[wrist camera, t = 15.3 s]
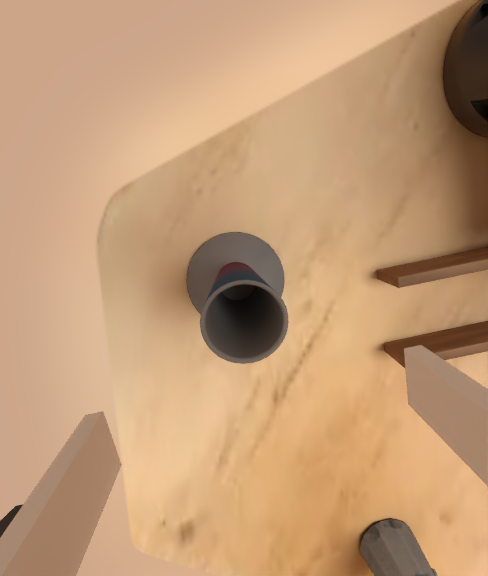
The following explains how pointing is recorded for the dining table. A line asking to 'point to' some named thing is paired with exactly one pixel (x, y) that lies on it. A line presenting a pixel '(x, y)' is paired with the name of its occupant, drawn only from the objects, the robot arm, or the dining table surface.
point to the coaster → (228, 251)
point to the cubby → (445, 341)
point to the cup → (243, 316)
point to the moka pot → (394, 550)
